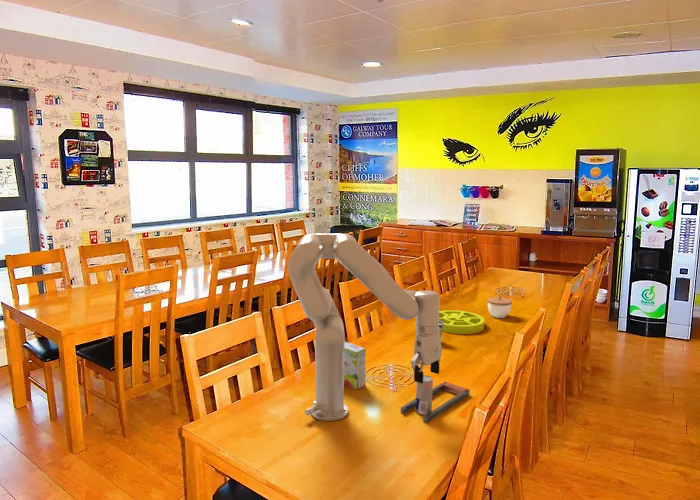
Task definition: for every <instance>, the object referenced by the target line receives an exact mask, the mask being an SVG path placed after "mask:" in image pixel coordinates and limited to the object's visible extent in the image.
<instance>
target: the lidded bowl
mask: <svg viewBox="0 0 700 500" xmlns="http://www.w3.org/2000/svg"><path fill="white" fill-rule="evenodd" d="M512 303H513V302H512V300H511V299H509V298H507V297H506V298H505V297H502V296H495V297H494V296H493V297H489V298H487V310H488V312H489V314H490V315H491V316H492V317H493V318H496V319H505V318H506V317H507V316H509V314H510V312H511V308H512Z"/></svg>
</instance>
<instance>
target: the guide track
mask: <svg viewBox="0 0 700 500" xmlns="http://www.w3.org/2000/svg"><path fill="white" fill-rule="evenodd" d="M442 391H445V392H448V393H450V394H454V395H455V396H453V397H451V398H450V399H449V400H447V401H445V402H444V403H442V404H441V405H439V406H437V407H436V408H435V409H432V411H431V412H430V413H428V414H427V415H423V423H425V424H428V423H429V422H431V421H433V420H434V419H435V418H437V417H439V416H440V415H442V414H443V413H444V412H446V411H447V410H449V409H451V408H452V407H454V406H455V405H456V404H458V403H460V402H461V401H462V400H464V399H465V398H467V397H469V396H470V391H471V390H470V389H468V388H467V387H466V388H465V387H462V386H459V385H456V384H453V383H450V382H447V381H443V382H442V383H439V384H438V385H436V386H435V387H433V388H432V397H434V396H435V395H437V394H439V393H441V392H442ZM414 408H416V398H414V399H412V400H411V401H409V402H407V403H406V404H404V405H402V406H401V407H400V414H403V415H404V414H406V413H408V412H410V411H411V410H412V409H414Z"/></svg>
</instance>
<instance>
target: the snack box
mask: <svg viewBox="0 0 700 500" xmlns="http://www.w3.org/2000/svg"><path fill="white" fill-rule="evenodd" d="M344 386H347V387H349V388H351V389H354V390H359V389H360V388H363V387H365V386H366V348H365V347H362V346H359V345H356V344H354V343H350V342H347V341H345V347H344Z"/></svg>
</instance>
